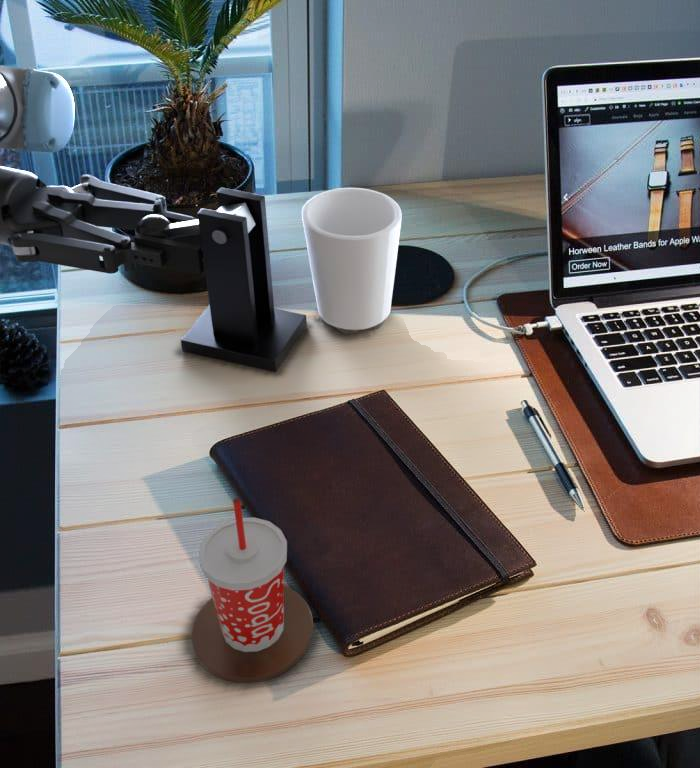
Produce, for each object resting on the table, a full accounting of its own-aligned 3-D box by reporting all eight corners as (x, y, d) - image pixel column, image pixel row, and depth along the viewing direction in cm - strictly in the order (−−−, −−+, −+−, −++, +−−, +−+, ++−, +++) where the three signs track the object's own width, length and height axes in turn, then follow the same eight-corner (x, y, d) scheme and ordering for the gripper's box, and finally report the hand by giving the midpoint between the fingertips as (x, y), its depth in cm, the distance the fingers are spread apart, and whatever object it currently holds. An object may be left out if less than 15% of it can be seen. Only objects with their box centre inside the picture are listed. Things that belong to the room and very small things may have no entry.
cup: (351, 277, 116) (348, 176, 108) (419, 312, 112) (422, 210, 104) (287, 317, 110) (279, 213, 102) (357, 356, 106) (355, 250, 98)
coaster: (196, 694, 75) (195, 689, 75) (188, 596, 82) (188, 591, 81) (321, 669, 78) (321, 664, 77) (304, 576, 84) (304, 571, 84)
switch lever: (139, 261, 101) (121, 228, 99) (157, 242, 104) (140, 210, 102) (245, 245, 97) (229, 211, 95) (261, 226, 100) (246, 192, 98)
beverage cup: (216, 669, 76) (194, 542, 67) (207, 603, 81) (185, 476, 72) (300, 650, 78) (289, 524, 69) (287, 587, 82) (275, 461, 73)
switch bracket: (182, 351, 104) (160, 215, 94) (217, 307, 110) (201, 174, 100) (276, 372, 103) (264, 236, 93) (306, 326, 109) (299, 193, 99)
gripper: (46, 195, 112) (250, 237, 109) (-53, 279, 100) (174, 329, 97) (31, 131, 107) (244, 173, 104) (-75, 211, 95) (163, 262, 92)
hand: (210, 248), depth 100 cm, fingers closed on switch lever, 4 cm apart
